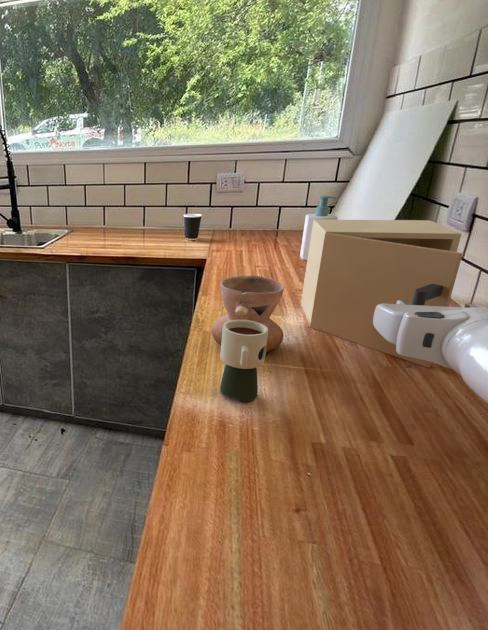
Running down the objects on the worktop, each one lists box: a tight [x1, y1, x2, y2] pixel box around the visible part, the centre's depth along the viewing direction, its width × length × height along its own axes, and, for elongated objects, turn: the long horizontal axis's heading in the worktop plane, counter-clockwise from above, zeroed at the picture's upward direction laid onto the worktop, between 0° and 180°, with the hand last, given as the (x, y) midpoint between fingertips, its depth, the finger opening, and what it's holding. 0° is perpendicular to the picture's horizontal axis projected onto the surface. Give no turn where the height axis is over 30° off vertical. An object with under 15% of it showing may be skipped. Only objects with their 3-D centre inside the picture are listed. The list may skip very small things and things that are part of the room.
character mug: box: [219, 320, 268, 402], centre depth 77 cm, size 11×7×13 cm, turn 162°
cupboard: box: [300, 219, 462, 324], centre depth 105 cm, size 16×24×22 cm, turn 72°
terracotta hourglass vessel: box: [210, 274, 285, 353], centre depth 96 cm, size 18×14×14 cm
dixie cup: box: [183, 213, 203, 240], centre depth 198 cm, size 8×8×11 cm
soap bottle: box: [299, 195, 339, 262], centre depth 158 cm, size 10×9×22 cm
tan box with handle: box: [309, 233, 464, 369], centre depth 90 cm, size 7×24×22 cm, turn 29°
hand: (434, 306), depth 74 cm, fingers open, 8 cm apart
